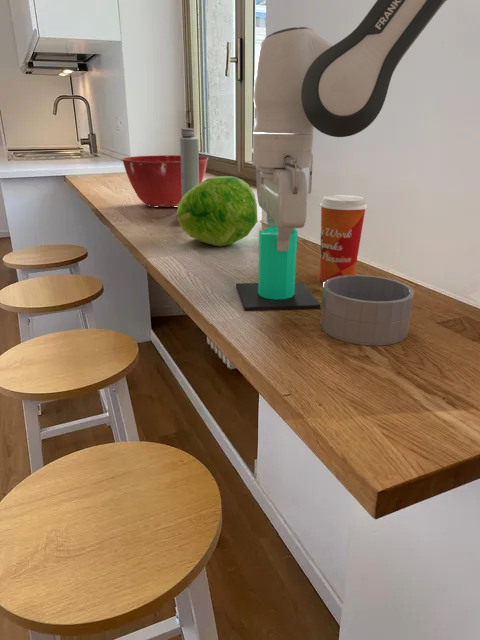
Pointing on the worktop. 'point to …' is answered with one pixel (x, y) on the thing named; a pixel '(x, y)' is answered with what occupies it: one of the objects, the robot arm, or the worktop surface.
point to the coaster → (256, 302)
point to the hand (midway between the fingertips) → (277, 245)
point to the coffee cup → (340, 234)
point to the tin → (366, 309)
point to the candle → (276, 266)
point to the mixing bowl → (158, 178)
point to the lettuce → (218, 211)
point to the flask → (189, 160)
